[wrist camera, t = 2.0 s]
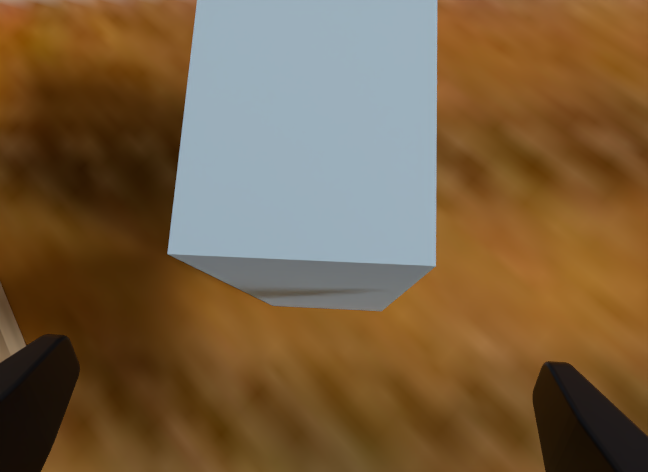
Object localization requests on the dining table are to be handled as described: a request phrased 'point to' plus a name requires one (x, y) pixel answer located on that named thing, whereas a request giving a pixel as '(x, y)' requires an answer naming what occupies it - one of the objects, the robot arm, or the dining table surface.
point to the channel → (8, 330)
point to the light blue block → (310, 150)
